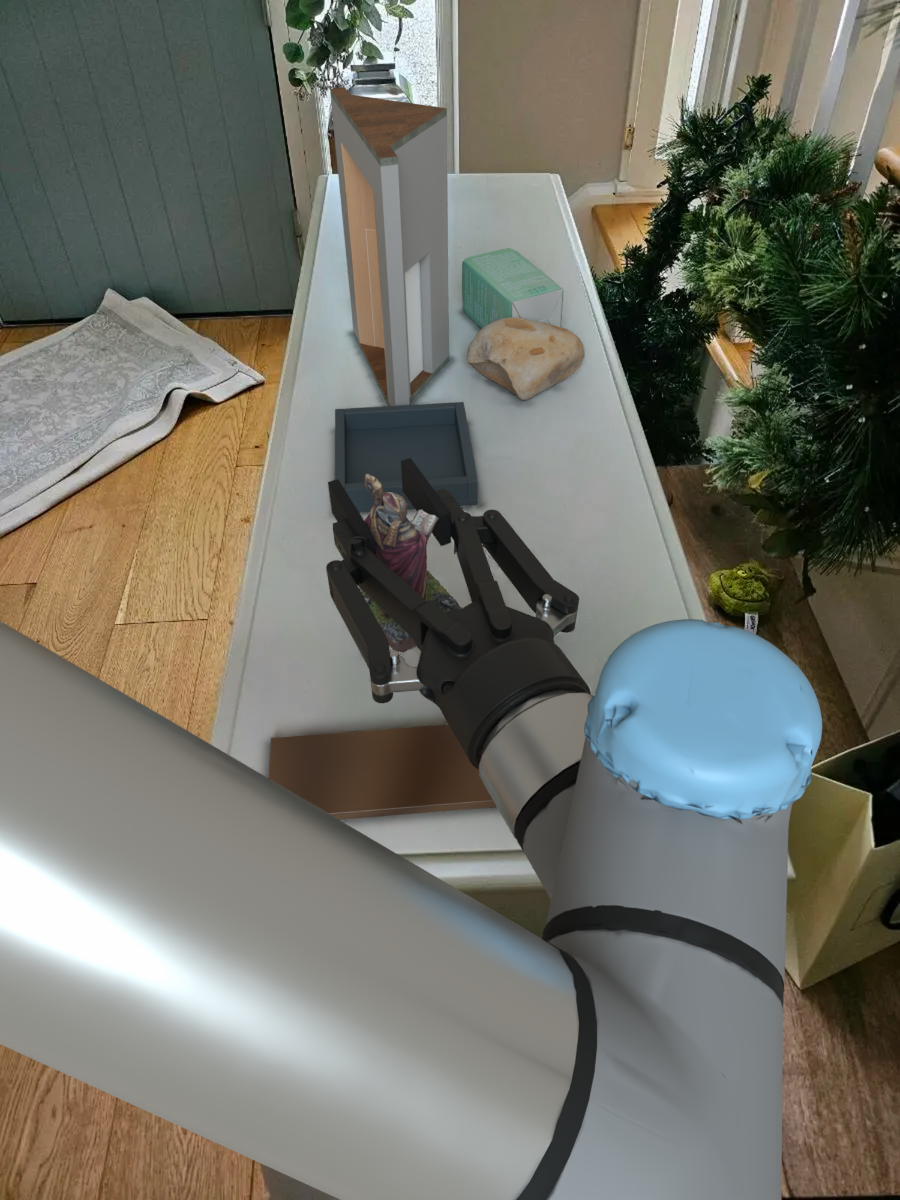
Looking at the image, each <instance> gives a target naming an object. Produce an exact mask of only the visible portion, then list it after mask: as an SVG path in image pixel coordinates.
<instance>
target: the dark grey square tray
mask: <svg viewBox="0 0 900 1200" xmlns="http://www.w3.org/2000/svg"><path fill="white" fill-rule="evenodd" d="M470 435H471V434H470V430H469V424H468V419H467V413H466V407H465V402H464V401H455V402H437V403H436V402H435V403H421V404H420V403H419V404H417V403H416V404H410V405H399V406H388V405H383V406H366V407H365V406H364V407H347V408H335V410H334V480H337V479H338V480H339V481H340V483H341V484H342V486H343V488H344V489H345V491H346V492H347V494H348V496H349V497H350V499H351V500H352V502H353V504H354V505H355V507H356V508H357V510H358V512H359V513H370V510H371V508H372V506H373V504H375V501H374V498H373V497H372V495H371V492H369V491H368V490H367V488H366V485H365V476H366V474H369V475H371V476H373V477H375V478H377V479H378V481H379V482H380V483H381V485H382V488H383V491H384V492H385V493H387V492H393V493H395V494H398V495H400V496H402V497H403V498H404V500H405V502H406V503H407V504H408V506H407V510H415V508H414V507H413V505H412V504H411V502H410V501H409V500H408V498H407V497H406V495H405V494H404V492H403V490H402V473H401V461H402V460H405V459H408V458H411V459H412V460H413V462H414V463H415V464H416V466H417V467H418V469H419V470H420V471H421V473H422V474H423V475H424V477H425V478H426V479H427V481H428V482H429V483H430V485H431V486H432V488H433V489H434V490H435V491H437V490H441V489H445V490H447V491H449V492H450V493H451V495H452V496H453V497H454V499H455V500H456V501H457V502H458V504H459V505H460V506H461V507H467V506H468V507H469V506H478V498H479V495H478V493H479V489H478V488H479V481H478V475H477V469H476V463H475V458H474V457H475V456H474V452H473V447H472V442H471V436H470Z"/></svg>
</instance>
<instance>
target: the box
mask: <svg viewBox="0 0 900 1200" xmlns="http://www.w3.org/2000/svg"><path fill="white" fill-rule="evenodd" d="M461 295H462V297H461V299H462V310H463V312H464V314H465V315H466V316H467V317H468V318H470V320H471V321H473V322H474V323H475V324H476V325H477V326H478V327H479V328H480V330H481V329H482V328H483V327H485V326H486V325H488V324H490V323H492V322H494V321H497V320H499V319H503V318H511V317H514V318H523V319H528V320H533V321H538V322H543V323H547V324H551V325H555V326H558V327H562V316H563V304H564V303H563V302H564V301H563V300H564V287H562V286H560V285H559V283H557V282H556V281H555V280H553V278H551V277H550V276H548V274H546V272H544V271H542V269H540V268H539V267H537V266H536V265H535V264H534V263H533V262H531V261H530V260H529V259H527V258H526V257H525V256H524V255H523V254H521V253H520V252H518V251H517V250H516V249H514V248H511V247H506V248H502V249H497V250H493V251H488V252H483V253H480V254H476V255H472V256H471V255H470V256H468V257H465V258H464V259H463V260H462V262H461Z"/></svg>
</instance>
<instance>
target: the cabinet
mask: <svg viewBox="0 0 900 1200" xmlns="http://www.w3.org/2000/svg"><path fill="white" fill-rule="evenodd" d="M329 93H330V94H329V95H330V101H331V102H330V104H331V114H332V125H333V134H334V144H335V145H334V146H335V157H336V165H337V175H338V176H337V177H338V185H339V186H338V187H339V196H340V197H339V198H340V206H341V207H340V208H341V218H342V227H343V237H344V238H343V239H344V247H345V259H346V268H347V269H346V270H347V278H348V279H347V280H348V289H349V290H348V291H349V299H350V300H349V301H350V309H351V310H350V311H351V318H352V319H351V321H352V330H353V331H352V332H353V336H354V337H355V340H356V342H357V344H358V347H359V349H360V351H361V353H362V355H363V357H364V359H365V361H366V363H367V365H368V367H369V369H370V372H371V374H372V376H373V378H374V380H375V382H376V384H377V386H378V388H379V390H380V392H381V394H382V397H383V399H384V401H385V403H386V406H399V405H411V404H410V403H411V402H412V401H413V400H414V399H415V398H417V396H418V395H419V394H420V393H421V392H422V391H423V389H425V387H426V386H427V385H428V384H429V383H430V382H431V381H432V380H433V379H434V377H436V375H437V374H438V373H439V372H440V371H441V370H442V369H443V368H444V367H445V366H446V365H447V364H448V363H449V361H450V322H449V321H450V319H449V318H450V317H449V316H450V314H449V313H450V312H449V311H450V310H449V309H450V308H449V305H450V304H449V205H448V203H449V202H448V200H449V199H448V197H449V196H448V194H449V193H448V192H449V191H448V185H449V184H448V108H447V107H441V106H434V105H426V104H419V103H413V102H405V101H398V100H392V99H384V98H378V97H370V96H364V95H358V94H357V95H356V94H351V93H350V92H349V91H348V89H347V87H345V86H341V87H333V88H331V87H330V88H329Z"/></svg>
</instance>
